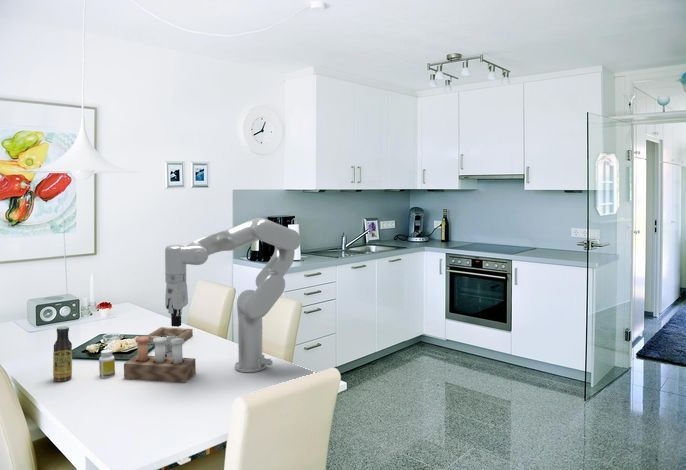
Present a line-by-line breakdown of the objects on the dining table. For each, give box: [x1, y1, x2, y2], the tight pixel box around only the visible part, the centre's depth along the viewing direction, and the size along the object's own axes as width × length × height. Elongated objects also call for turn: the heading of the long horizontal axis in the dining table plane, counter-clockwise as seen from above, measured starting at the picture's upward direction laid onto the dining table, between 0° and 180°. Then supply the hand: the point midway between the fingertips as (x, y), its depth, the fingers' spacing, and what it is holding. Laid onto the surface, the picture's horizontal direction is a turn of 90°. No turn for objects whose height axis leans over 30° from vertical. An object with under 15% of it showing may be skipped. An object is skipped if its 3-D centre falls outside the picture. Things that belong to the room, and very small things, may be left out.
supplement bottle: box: [98, 348, 116, 379], centre depth 200 cm, size 5×5×10 cm
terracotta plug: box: [135, 335, 149, 362], centre depth 201 cm, size 5×5×10 cm
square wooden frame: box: [146, 326, 194, 343], centre depth 245 cm, size 16×16×4 cm
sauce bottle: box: [52, 325, 73, 383], centre depth 195 cm, size 7×6×20 cm
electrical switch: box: [153, 336, 177, 357], centre depth 221 cm, size 9×5×9 cm, turn 141°
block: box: [123, 354, 197, 384], centre depth 201 cm, size 24×10×6 cm, turn 83°
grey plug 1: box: [153, 336, 166, 363], centre depth 200 cm, size 5×5×10 cm
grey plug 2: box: [171, 338, 185, 364], centre depth 199 cm, size 5×5×10 cm
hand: (176, 325), depth 198 cm, fingers closed
